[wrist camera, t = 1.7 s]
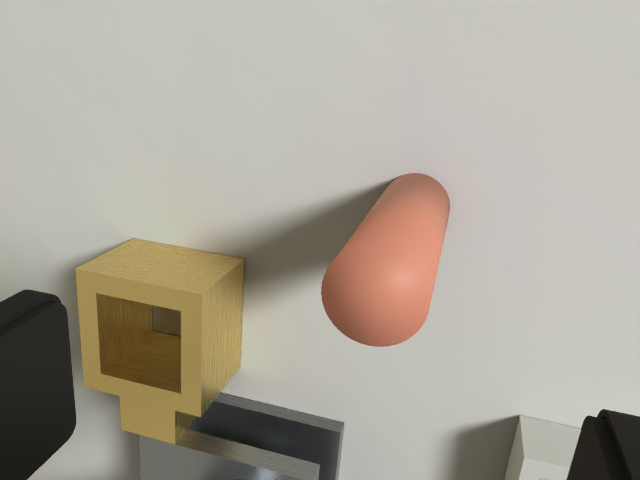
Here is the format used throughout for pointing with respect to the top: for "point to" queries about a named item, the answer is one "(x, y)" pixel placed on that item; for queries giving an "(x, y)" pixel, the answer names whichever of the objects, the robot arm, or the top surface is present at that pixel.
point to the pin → (389, 264)
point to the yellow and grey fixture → (189, 370)
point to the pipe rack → (541, 450)
